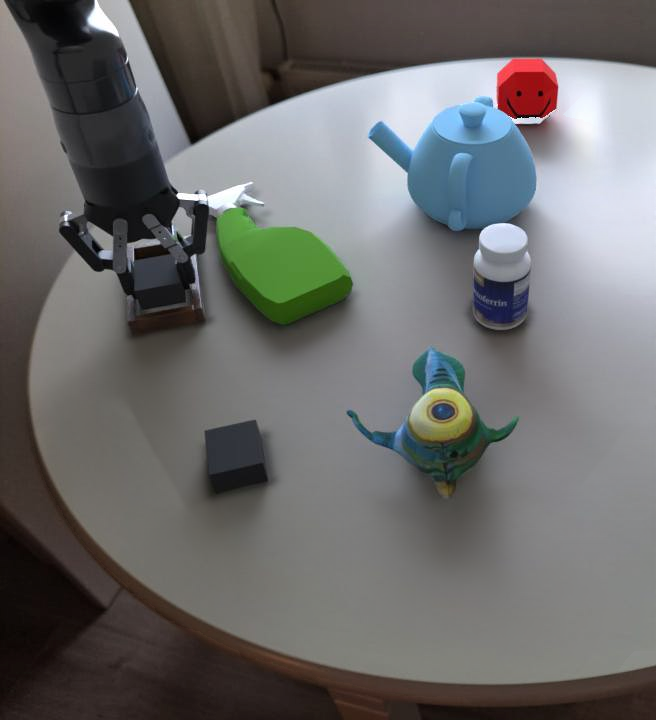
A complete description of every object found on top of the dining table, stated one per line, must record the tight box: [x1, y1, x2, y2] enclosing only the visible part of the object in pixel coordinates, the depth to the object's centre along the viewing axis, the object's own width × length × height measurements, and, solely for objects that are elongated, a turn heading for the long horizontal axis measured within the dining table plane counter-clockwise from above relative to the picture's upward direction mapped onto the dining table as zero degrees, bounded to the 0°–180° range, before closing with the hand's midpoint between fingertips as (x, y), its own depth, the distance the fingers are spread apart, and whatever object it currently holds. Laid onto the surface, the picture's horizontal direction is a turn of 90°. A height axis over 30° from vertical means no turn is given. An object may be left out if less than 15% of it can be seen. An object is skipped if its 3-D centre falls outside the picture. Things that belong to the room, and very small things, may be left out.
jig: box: [126, 234, 207, 336], centre depth 86 cm, size 7×13×2 cm, turn 18°
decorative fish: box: [346, 346, 520, 499], centre depth 71 cm, size 13×12×6 cm
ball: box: [496, 58, 559, 119], centre depth 110 cm, size 8×8×8 cm
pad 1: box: [133, 254, 188, 312], centre depth 82 cm, size 4×5×3 cm
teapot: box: [366, 94, 538, 232], centre depth 94 cm, size 20×20×13 cm
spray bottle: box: [207, 181, 354, 326], centre depth 90 cm, size 3×11×25 cm
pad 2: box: [204, 419, 269, 494], centre depth 69 cm, size 4×5×3 cm
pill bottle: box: [472, 222, 532, 331], centre depth 81 cm, size 6×6×10 cm
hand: (162, 289), depth 83 cm, fingers closed on pad 1, 4 cm apart
